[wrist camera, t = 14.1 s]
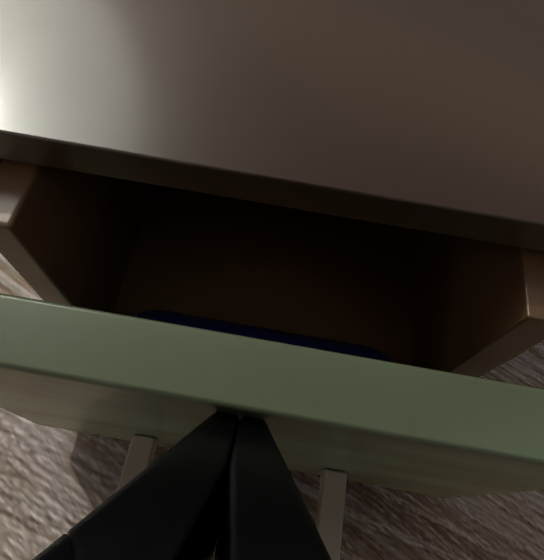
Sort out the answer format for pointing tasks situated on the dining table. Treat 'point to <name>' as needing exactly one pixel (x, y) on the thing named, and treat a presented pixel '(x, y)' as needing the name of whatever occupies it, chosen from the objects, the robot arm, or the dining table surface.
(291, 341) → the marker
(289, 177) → the cabinet
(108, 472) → the dining table surface
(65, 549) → the robot arm
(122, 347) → the drawer
